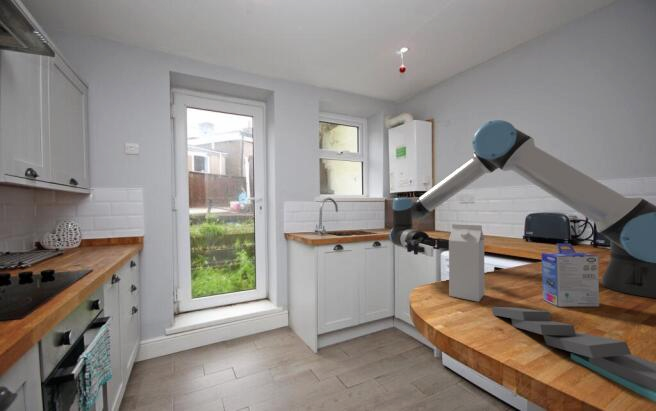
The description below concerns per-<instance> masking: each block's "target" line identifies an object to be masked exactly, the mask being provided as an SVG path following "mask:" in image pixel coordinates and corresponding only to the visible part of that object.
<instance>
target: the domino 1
mask: <svg viewBox="0 0 656 411" xmlns="http://www.w3.org/2000/svg"><path fill="white" fill-rule="evenodd" d="M491 310H492V315H493V316H498V317H503V318H509V319H511V318H513V319H518V320H523V321H552V319H551V318H552V317H551V313H550V311H548V310H547V311H546V310H545V311H544V310H540V309H539V310H538V309H531V308H524V307H511V306H509V307H508V306H491Z"/></svg>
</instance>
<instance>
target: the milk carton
mask: <svg viewBox="0 0 656 411" xmlns="http://www.w3.org/2000/svg"><path fill="white" fill-rule="evenodd" d="M451 227H452V228H451V232H450V234H449V239H448V240H449V249H448V290H449V292H448V295H449V296H450V297H453V298H458V299H463V300H469V301H473V302H478V303H479V302H481V299H482V298H484V295H485V238H484V233H483V229H482V228H483V226H482V225H481V224H480V225H479V224H475V225H474V224H456V223H454V224H452V226H451Z"/></svg>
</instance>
